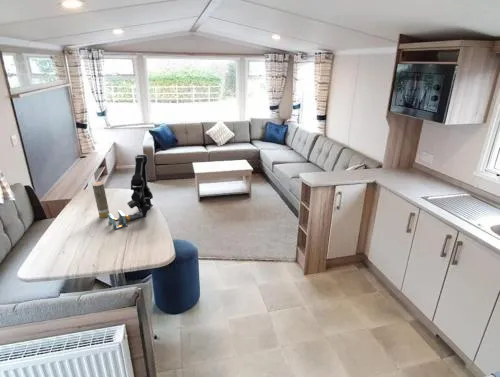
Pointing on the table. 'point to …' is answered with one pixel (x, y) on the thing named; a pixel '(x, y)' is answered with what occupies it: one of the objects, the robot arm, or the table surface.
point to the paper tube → (101, 199)
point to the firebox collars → (112, 220)
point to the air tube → (131, 217)
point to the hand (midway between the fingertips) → (142, 215)
